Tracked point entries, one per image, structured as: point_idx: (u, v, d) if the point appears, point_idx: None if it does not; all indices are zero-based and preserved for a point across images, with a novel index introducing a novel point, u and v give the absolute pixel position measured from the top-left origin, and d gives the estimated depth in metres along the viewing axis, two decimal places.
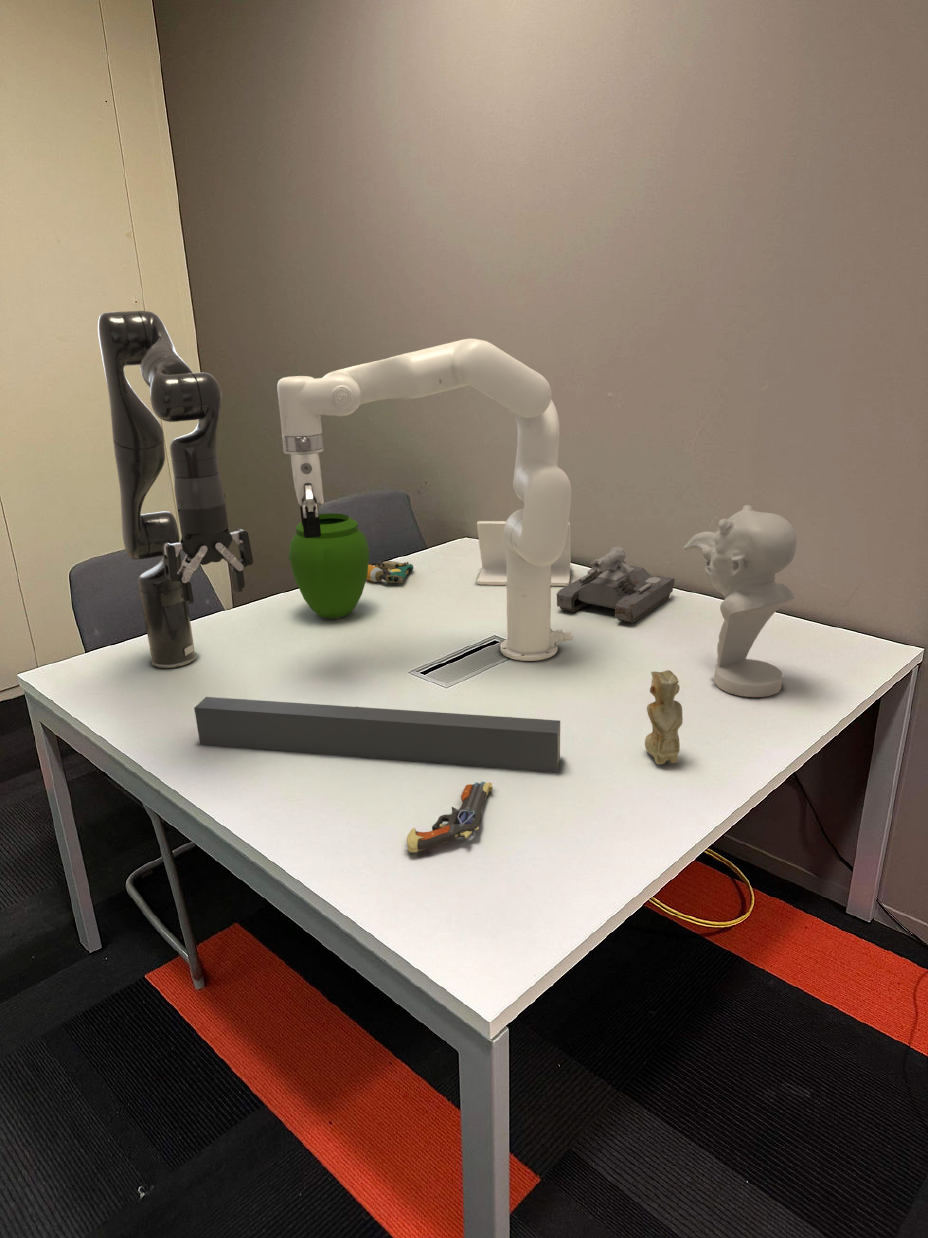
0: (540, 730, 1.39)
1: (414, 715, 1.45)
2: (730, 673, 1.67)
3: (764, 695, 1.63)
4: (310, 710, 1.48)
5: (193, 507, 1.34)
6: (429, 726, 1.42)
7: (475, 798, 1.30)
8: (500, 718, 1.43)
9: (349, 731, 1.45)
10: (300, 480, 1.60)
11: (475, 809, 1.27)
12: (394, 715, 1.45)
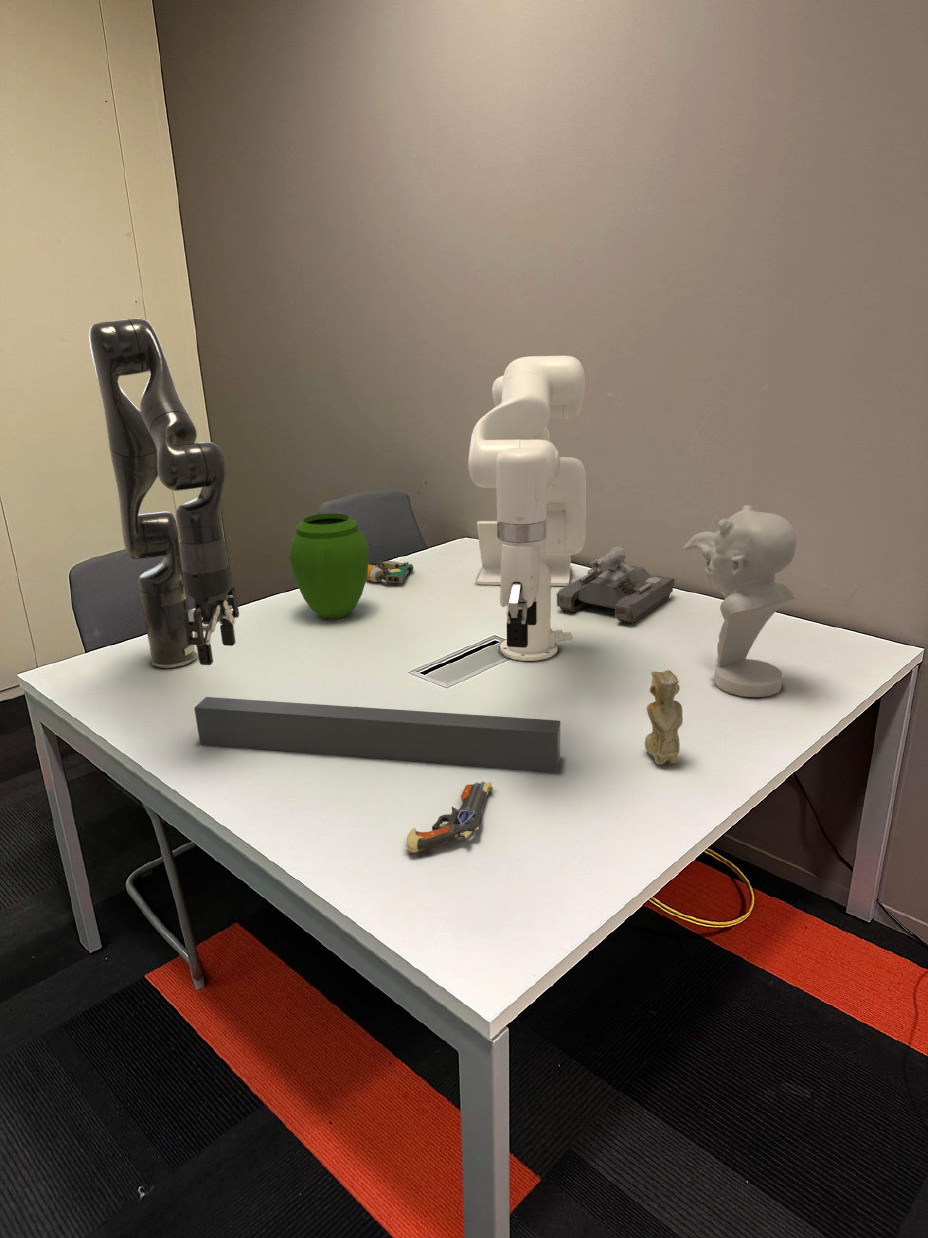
0: (540, 730, 1.39)
1: (414, 715, 1.45)
2: (730, 673, 1.67)
3: (764, 695, 1.63)
4: (310, 710, 1.48)
5: (215, 569, 1.39)
6: (429, 726, 1.42)
7: (475, 798, 1.30)
8: (500, 718, 1.43)
9: (349, 731, 1.45)
10: None
11: (475, 809, 1.27)
12: (394, 715, 1.45)
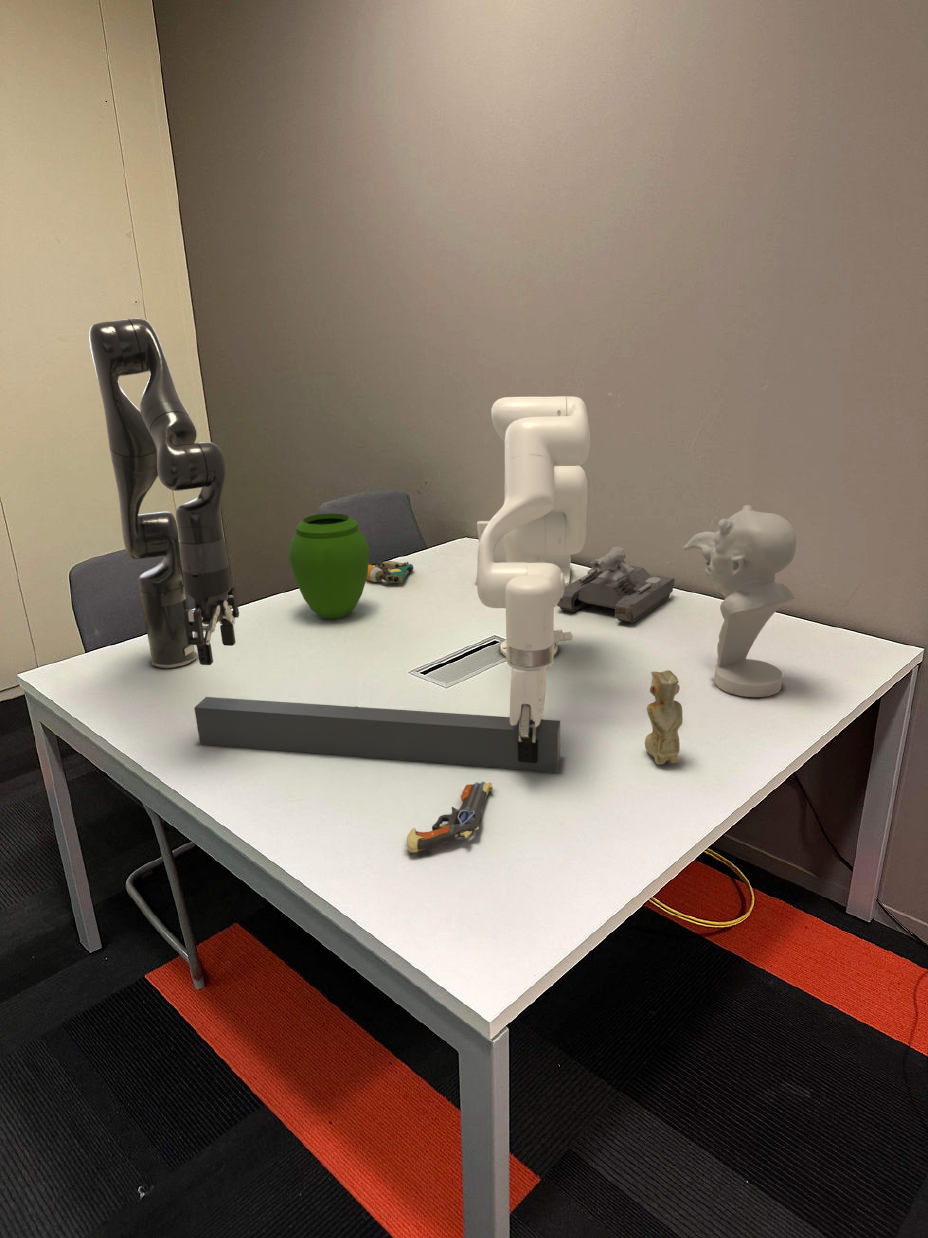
0: (540, 730, 1.39)
1: (414, 715, 1.45)
2: (730, 673, 1.67)
3: (764, 695, 1.63)
4: (310, 710, 1.48)
5: (215, 569, 1.39)
6: (429, 726, 1.42)
7: (475, 798, 1.30)
8: (500, 718, 1.43)
9: (349, 731, 1.45)
10: None
11: (475, 809, 1.27)
12: (394, 715, 1.45)
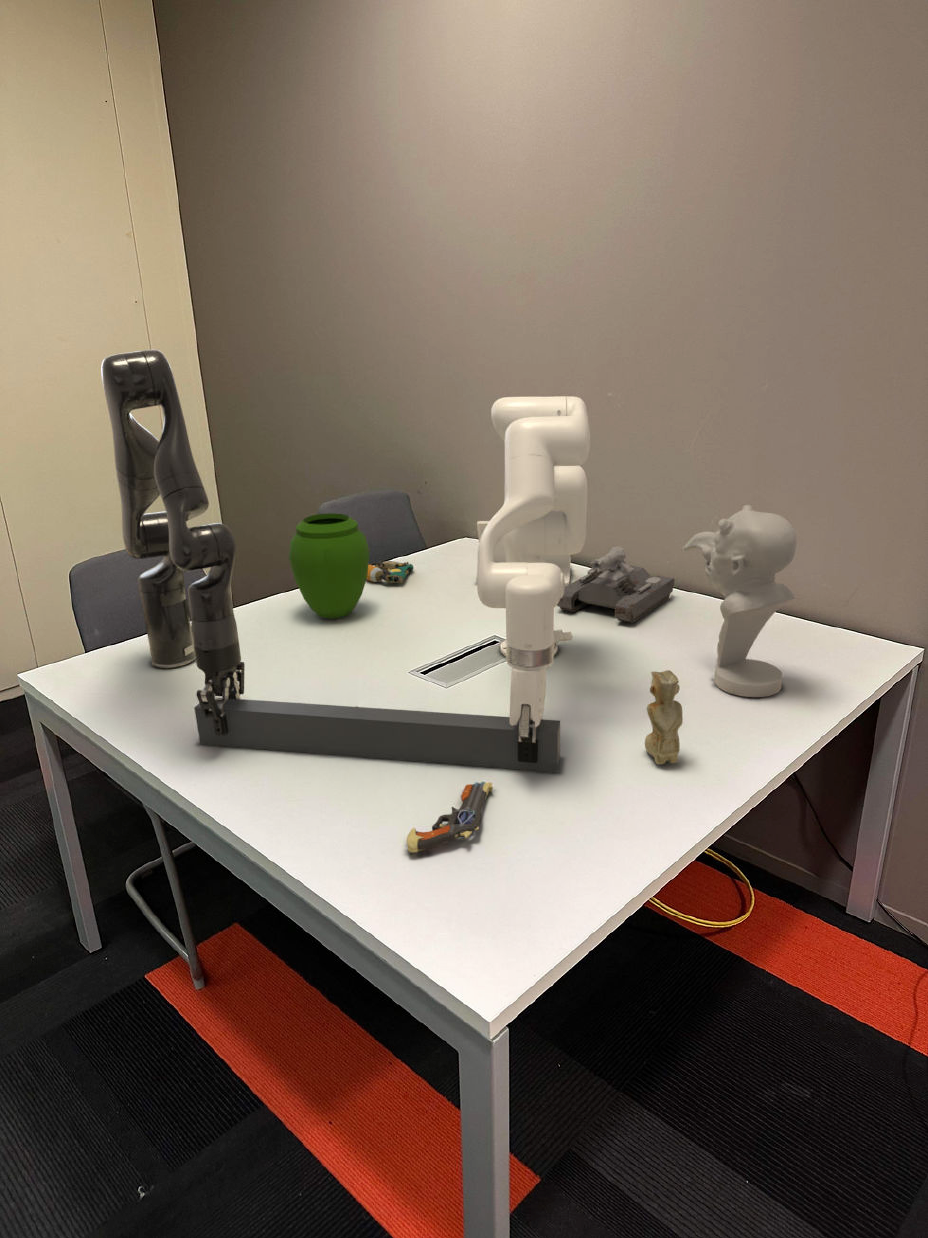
0: (540, 730, 1.39)
1: (414, 715, 1.45)
2: (730, 673, 1.67)
3: (764, 695, 1.63)
4: (310, 710, 1.48)
5: (225, 645, 1.44)
6: (429, 726, 1.42)
7: (475, 798, 1.30)
8: (500, 718, 1.43)
9: (349, 731, 1.45)
10: None
11: (475, 809, 1.27)
12: (394, 715, 1.45)
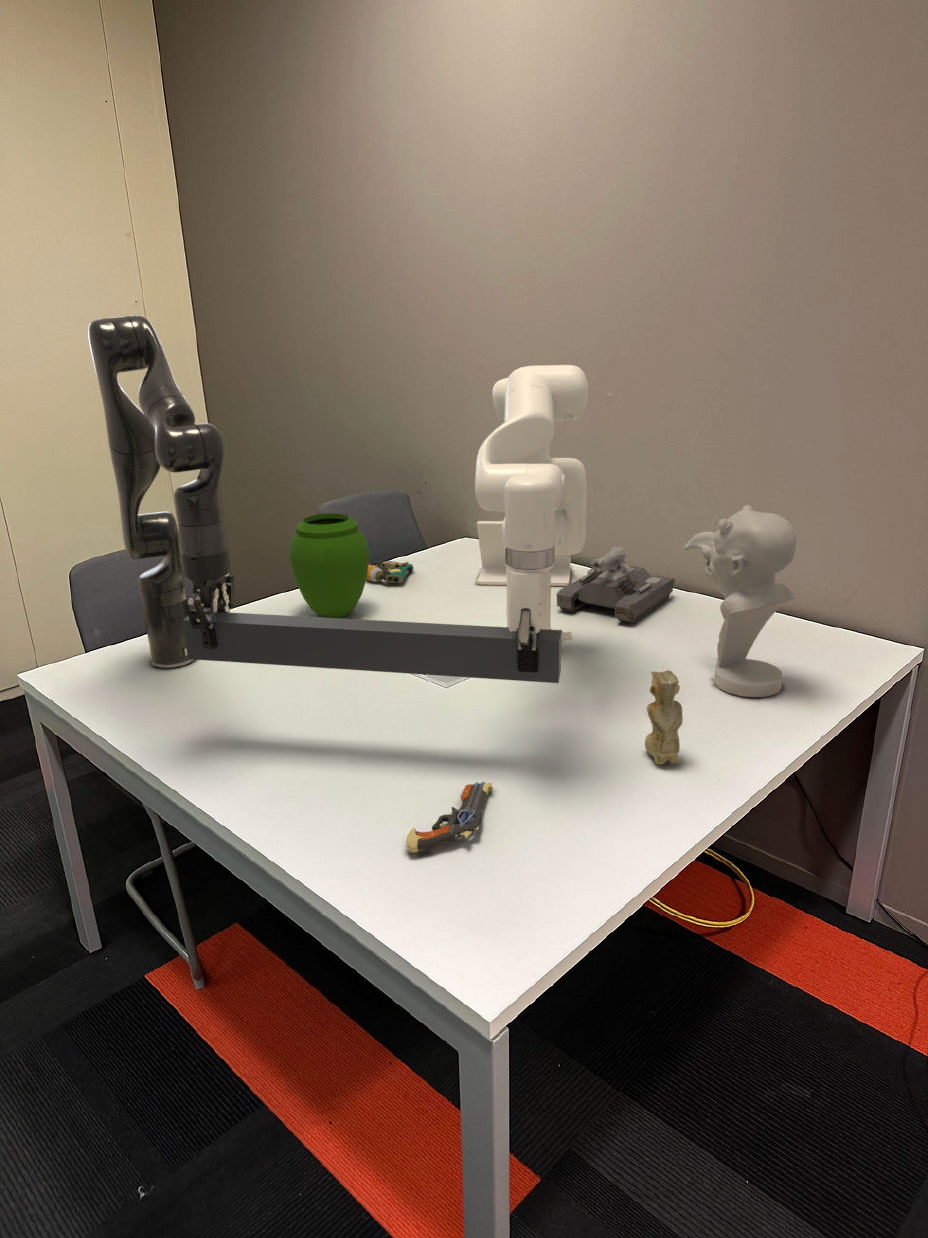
0: (541, 639, 1.33)
1: (410, 626, 1.40)
2: (730, 673, 1.67)
3: (764, 695, 1.63)
4: (302, 622, 1.42)
5: (213, 552, 1.38)
6: (425, 636, 1.37)
7: (475, 798, 1.30)
8: (499, 628, 1.38)
9: (343, 643, 1.40)
10: None
11: (475, 809, 1.27)
12: (389, 626, 1.40)
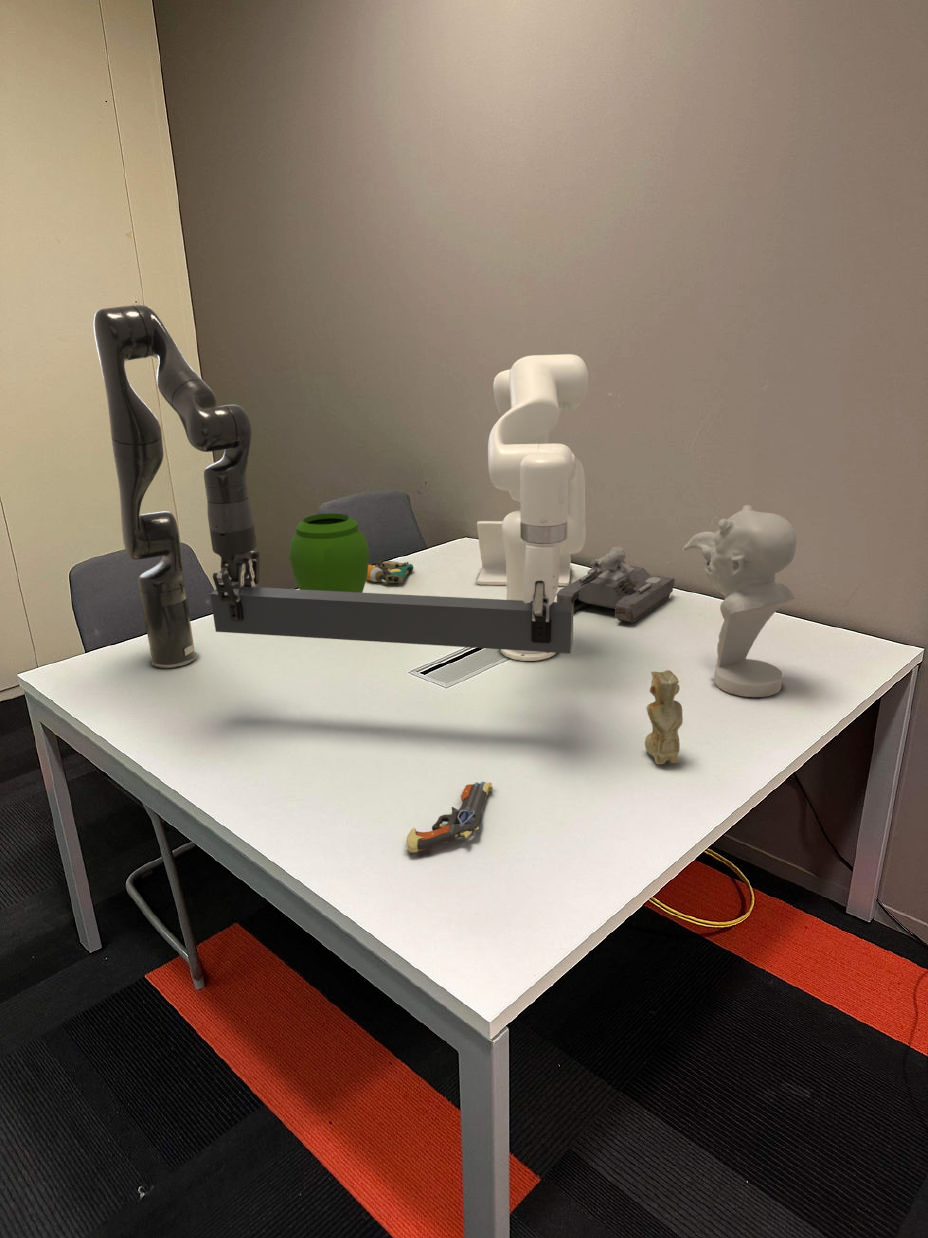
0: (554, 610, 1.40)
1: (428, 599, 1.46)
2: (730, 673, 1.67)
3: (764, 695, 1.63)
4: (325, 595, 1.49)
5: (241, 528, 1.45)
6: (443, 608, 1.43)
7: (475, 798, 1.30)
8: (514, 601, 1.44)
9: (364, 615, 1.47)
10: None
11: (475, 809, 1.27)
12: (408, 599, 1.46)
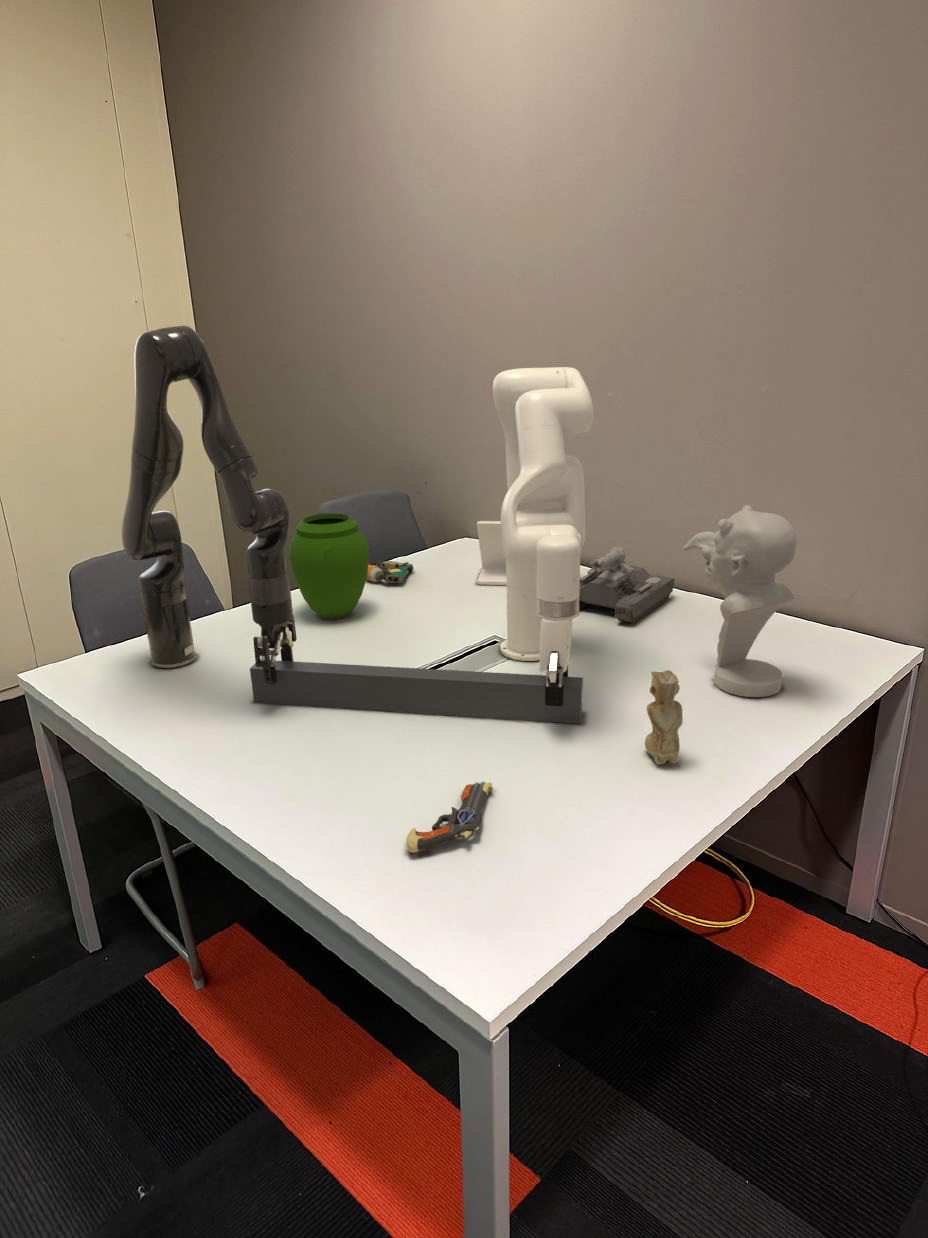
0: (565, 685, 1.54)
1: (450, 673, 1.60)
2: (730, 673, 1.67)
3: (764, 695, 1.63)
4: (355, 670, 1.63)
5: (280, 601, 1.59)
6: (464, 683, 1.57)
7: (475, 798, 1.30)
8: (528, 676, 1.58)
9: (392, 688, 1.61)
10: None
11: (475, 809, 1.27)
12: (432, 674, 1.60)
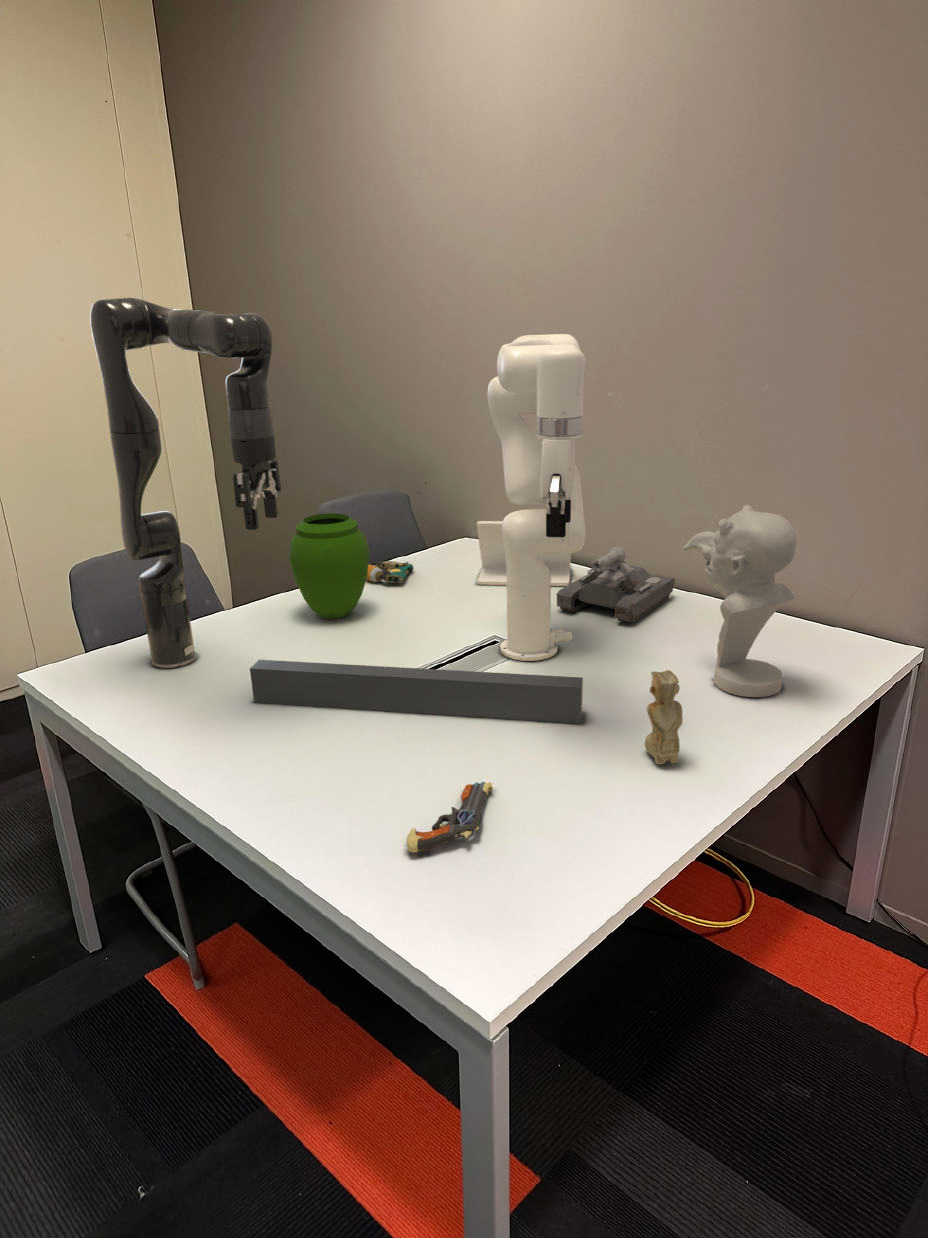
0: (565, 685, 1.54)
1: (450, 673, 1.60)
2: (730, 673, 1.67)
3: (764, 695, 1.63)
4: (355, 670, 1.63)
5: (262, 436, 1.48)
6: (464, 683, 1.57)
7: (475, 798, 1.30)
8: (528, 676, 1.58)
9: (392, 688, 1.61)
10: None
11: (475, 809, 1.27)
12: (432, 674, 1.60)
